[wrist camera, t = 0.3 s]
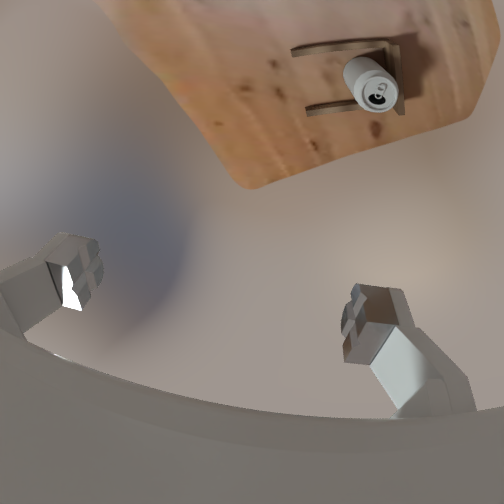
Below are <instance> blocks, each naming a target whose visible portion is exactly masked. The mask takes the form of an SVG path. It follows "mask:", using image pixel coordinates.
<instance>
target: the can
mask: <svg viewBox="0 0 504 504" xmlns="http://www.w3.org/2000/svg"><path fill="white" fill-rule="evenodd" d="M343 77H344V80H345V83H346V84H347V86H348V88H349V89H350V91H351V93H352V94H353V96H354V98H355V99H356V101H357V102H358V104H359V105H360V106H361V107H363V108H364V109H365V110H368V111H371V112H385V111H387V110H389V109H391V108H392V107H393V106H394V105H395V103H396V101H397V98H398V92H399V89H398V85H397V83H396V81H395V79H394V78H393V77H392V76H391V75H390V74H389V73H388V72H387V71H386V70H384V69H383V68H382V67H381V66H380V65H379V64H378V63H376V62H375V61H374V60H373V59H370V58H368V57H356V58H353V59H352V60H350V61H349V62H348V63H347V64H346V66H345V68H344V71H343Z"/></svg>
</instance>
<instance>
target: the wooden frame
mask: <svg viewBox="0 0 504 504" xmlns="http://www.w3.org/2000/svg"><path fill="white" fill-rule="evenodd" d="M382 47H383V50H384V57H385V65H386V71H387V72H388V73H389V74H390V75H391V76H392V77H393V78H394V79H395V81H396V83H397V85H398V89H399V92H398V98H397V101H396V103H395V105H394V106H393V108H394V110H395V111H396V112H397V114H398V115H405V107H404V90H403V77H402V66H401V57H400V49H399V45H398V44H396V43H394V42H392V41H391V40H389V39H378V40H360V41H348V42H338V43H329V44H321V45H314V46H308V47H301V48H295V49H291V54H292V57H298V56H304V55H310V54H317V53H325V52H333V51H342V50H352V49H364V48H382ZM305 109H306V114H307V117H308V116H315V115H321V114H329V113H336V112H344V111H353V110H362V109H364V108H363V107H361V106H360V105H359V104H358V102H357V101H347V102H338V103H331V104H323V105H316V106H310V107H305Z"/></svg>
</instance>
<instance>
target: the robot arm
mask: <svg viewBox="0 0 504 504" xmlns="http://www.w3.org/2000/svg"><path fill="white" fill-rule="evenodd" d="M99 251H100V249H99V244H98V241H96V240H95V239H92V238H87V237H83V236H78V235H74V234H68V233H63V232H61V233H58V234H56V236H54V237H53V239H51V240H50V241H49V242H48V243H47V244H46V245H45V246H44V247H43V248H42V249H41V250H40V251H39V252H38V253H37V254H36V255H35V256H34V257H33V258H27V259H25V260H23V261H21V262H18V263H16V264H14V265H12V266H10V267H7V268H5V269H3V270H1V271H0V504H504V406H503V407H497V408H492V409H486V410H480V411H477V409H476V405H475V402H474V398H473V394H472V391H471V387H470V384H469V381H468V377H467V376H466V375H465V374H464V373H463V372H462V371H461V370H460V369H459V368H458V366H457V365H456V364H455V363H454V362H453V361H452V360H451V359H450V358H449V357H448V356H447V355H446V354H445V353H444V352H443V351H442V350H441V349H440V348H439V347H438V346H437V345H436V344H435V343H434V342H433V341H432V340H431V339H430V338H429V337H428V336H427V335H426V334H425V333H424V332H423V331H422V330H421V329H420V328H416V327H415V324H414V321H413V318H412V315H411V312H410V309H409V306H408V303H407V301H406V298H405V295H404V292H403V291H402V290H401V289H397V288H389V287H386V288H384V287H377V286H371V285H364V284H357V283H356V284H355V285H354V287H353V289H352V291H351V298H352V300H351V301H350V302H348V303H347V304H346V306H345V308H344V311H343V314H342V319H341V333H342V335H343V336H344V337H345V338H346V339H345V341H344V343H343V355H344V362H346V363H356V364H364V365H370V368H371V369H372V371H373V372H374V374H375V375H376V377H377V378H378V380H379V381H380V383H381V384H382V386H383V387H384V389H385V390H386V392H387V394H388V395H389V397H390V398H391V399H392V401H393V403H394V404H395V406H396V407H397V409H398V411H397V412H396V413H394V414H393V415H392V416H391V417H390V418H389V419H355V418H354V419H353V418H329V417H314V416H302V415H291V414H283V413H274V412H267V411H259V410H253V409H246V408H240V407H234V406H228V405H223V404H218V403H213V402H208V401H203V400H198V399H194V398H189V397H185V396H181V395H176V394H173V393H169V392H165V391H161V390H158V389H154V388H150V387H147V386H143V385H140V384H137V383H133V382H130V381H127V380H124V379H121V378H117V377H115V376H112V375H109V374H106V373H103V372H100V371H97V370H94V369H92V368H89V367H86V366H83V365H81V364H78V363H76V362H73V361H71V360H68V359H66V358H63V357H61V356H59V355H56V354H54V353H52V352H50V351H47V350H45V349H43V348H40V347H38V346H36V345H34V344H32V343H30V342H28V341H27V339H26V338H25V336H24V334H23V333H24V332H26V331H27V330H29V329H30V328H31V327H33V326H34V325H36V324H37V323H39V322H40V321H42V320H43V319H44V318H46V317H47V316H49V315H50V314H52V313H53V312H55V311H56V310H58V309H59V308H61V307H62V305H64V306H67V307H71V308H74V309H79V310H82V309H83V308H84V306H85V305H86V303H87V302H88V301H89V299H90V298H91V292H90V291H92V290H94V289H96V288H98V286H99V285H100V283H101V281H102V278H103V274H104V267H103V262H102V260H101V259H100V257H99V256H98V253H99Z"/></svg>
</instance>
